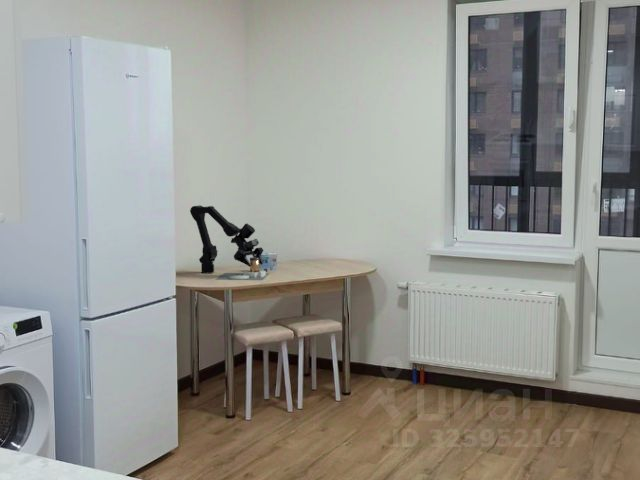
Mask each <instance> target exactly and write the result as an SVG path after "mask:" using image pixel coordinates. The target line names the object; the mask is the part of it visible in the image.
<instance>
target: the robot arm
mask: <svg viewBox="0 0 640 480" xmlns="http://www.w3.org/2000/svg"><path fill="white" fill-rule="evenodd" d="M189 212H190V215H191V217H192V219H193V220H194V221H195V222H196V225H197V229H198V232H199V237H200V240H201V243H202V249H201V250H202V255H201V256H200V258H199V259H198V261H199V263H201V265H200V266H201V271H200V274H213V273H214V272H215V264H214V262H215V260H216V258H217V256H218V253H219V251H218V249H217V245H213V244H212V242H211V238H210V233H209V231H208V228H207V224H206V220H205V218H206V217H205V216H206V214H208V215H209V216H210V217H211V218H212V219H213V220H214V221H215V222H216V223H217V224H218V225H219V226H220V227H221V228H222V231H223V232H224V234H225V235H226V236H227V237H229V238H230V237H231V240H230V243H231V244H235V245H236V246H237V250H236V252H235V253H234V254H233V259H234V260H235V261H237V262H240V263H243V264H245V265H246V266H248V267H249V268H250V266H251V264H250V260H249V259H248V257H247V256H252V257H258V258H259V263H260V264H261V265H262V264H263V262H262V258H261V254H262V253H264V251H265V250H264V248H263V247H257V246H258V245H259V244H260V243H259V242H260V241H259V240H258V239H257V238H254V239H251V240H246V239H249V238H250V237H251V236H252V235H253V234H254V233H255V232H256V229H255V228H254V227H253V226H252V225H250V224H249V223H244V225H243V226H242V227H241V228H240V227H238V226H237V225H235V224H234V223H232V222H230V221H228V220H227V219H226V218H225V217H224V216H223V215H222V214H221V213H220V212H219V211H218V210H217V209H216V208H215V207H214V206H213V205H209V206H203V205H200V204H199V205H194V206H191V207H190V209H189ZM255 247H256V248H255ZM254 248H255V249H254Z"/></svg>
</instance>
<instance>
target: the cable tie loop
mask: <svg viewBox="0 0 640 480" xmlns="http://www.w3.org/2000/svg"><path fill="white" fill-rule="evenodd" d="M243 273H244V275H246V276H249V277H264V276H266V273H267V272H266V271H261V270H259V272H255V273H254V272H250V270H245V271H243Z"/></svg>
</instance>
